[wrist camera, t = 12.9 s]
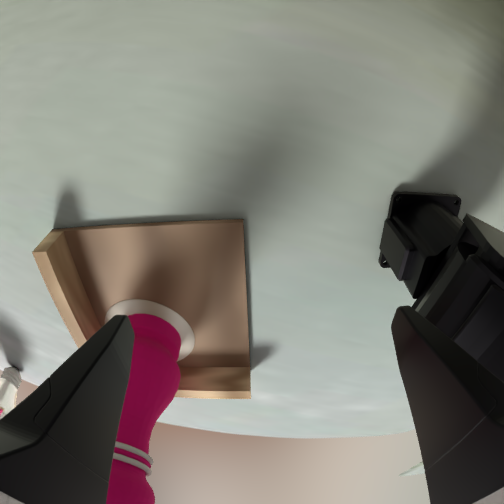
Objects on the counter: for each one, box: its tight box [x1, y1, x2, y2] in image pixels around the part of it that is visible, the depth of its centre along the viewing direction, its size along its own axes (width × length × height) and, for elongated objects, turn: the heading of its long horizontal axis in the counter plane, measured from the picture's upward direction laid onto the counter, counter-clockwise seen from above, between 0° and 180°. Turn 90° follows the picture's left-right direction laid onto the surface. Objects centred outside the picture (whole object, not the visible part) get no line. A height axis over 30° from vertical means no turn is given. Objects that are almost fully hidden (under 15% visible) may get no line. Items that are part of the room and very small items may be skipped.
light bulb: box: [0, 367, 21, 419], centre depth 30 cm, size 7×7×12 cm
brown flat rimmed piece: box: [32, 219, 251, 399], centre depth 26 cm, size 16×18×4 cm
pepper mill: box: [106, 314, 181, 504], centre depth 20 cm, size 7×7×20 cm
